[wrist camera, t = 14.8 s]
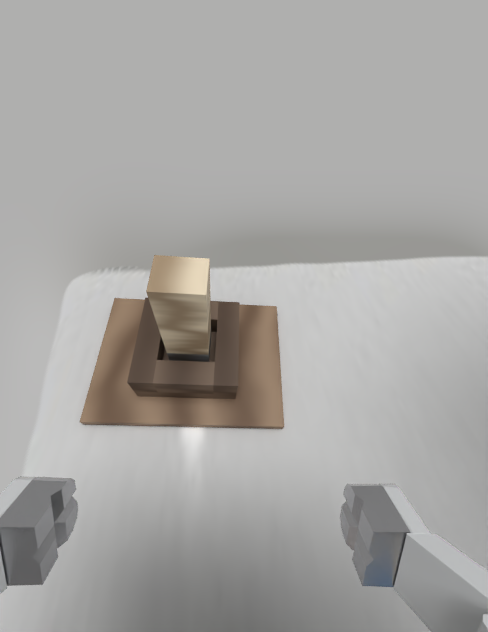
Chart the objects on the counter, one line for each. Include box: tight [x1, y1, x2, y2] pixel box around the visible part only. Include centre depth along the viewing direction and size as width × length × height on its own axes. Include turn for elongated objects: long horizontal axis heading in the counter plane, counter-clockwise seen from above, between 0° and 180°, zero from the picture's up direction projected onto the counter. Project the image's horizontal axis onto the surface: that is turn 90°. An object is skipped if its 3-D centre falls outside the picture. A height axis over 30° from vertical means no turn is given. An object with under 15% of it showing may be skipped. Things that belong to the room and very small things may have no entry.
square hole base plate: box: [80, 298, 284, 429], centre depth 35 cm, size 22×16×6 cm
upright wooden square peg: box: [146, 255, 211, 362], centre depth 29 cm, size 4×4×14 cm
